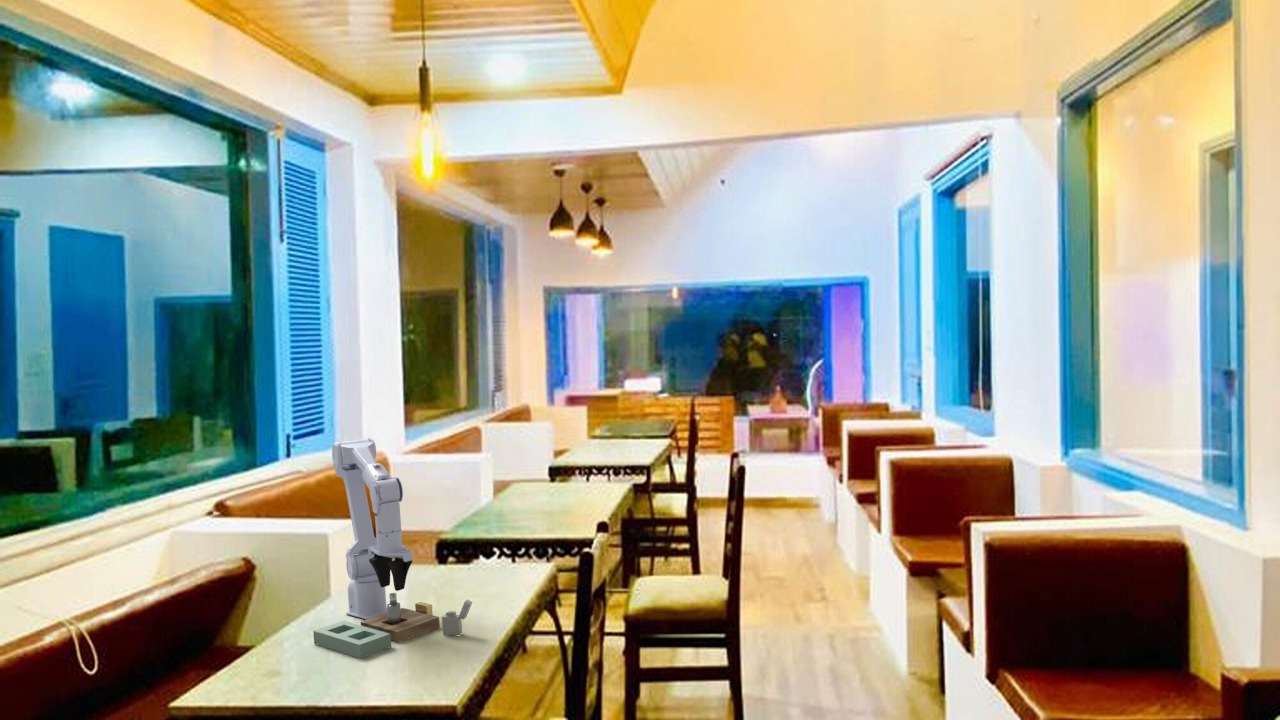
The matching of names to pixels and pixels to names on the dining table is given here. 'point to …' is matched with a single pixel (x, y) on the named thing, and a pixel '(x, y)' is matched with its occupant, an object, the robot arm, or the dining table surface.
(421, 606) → the light wooden block
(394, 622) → the grey stepped cylinder
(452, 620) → the lighter
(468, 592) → the dining table surface
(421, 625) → the socket block
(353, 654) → the drill rack
